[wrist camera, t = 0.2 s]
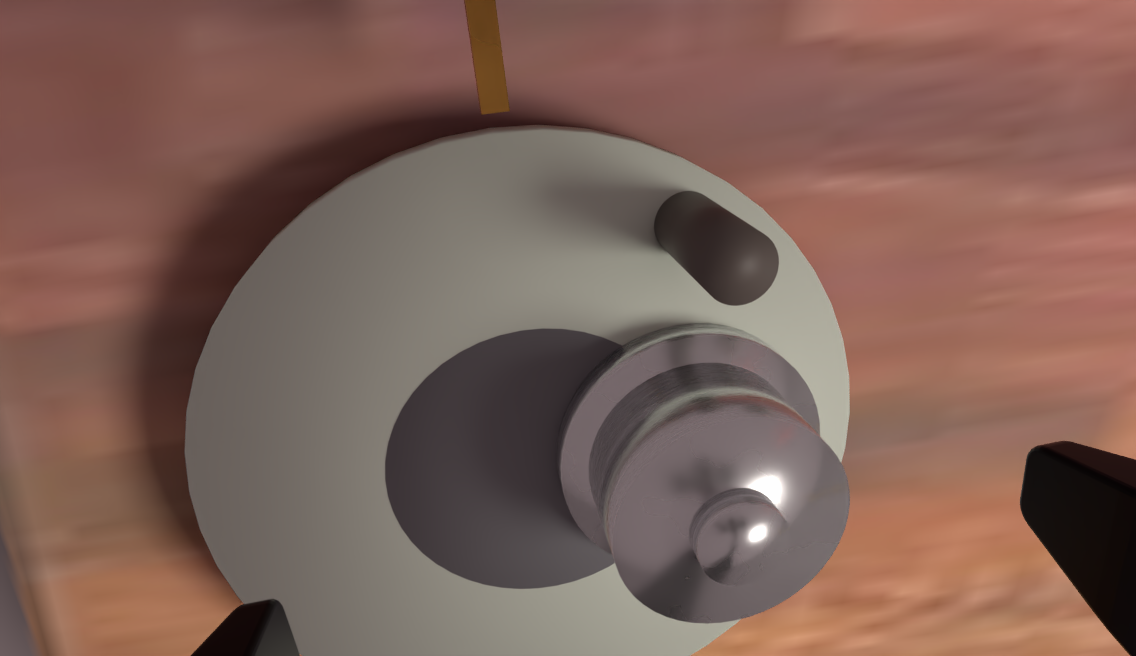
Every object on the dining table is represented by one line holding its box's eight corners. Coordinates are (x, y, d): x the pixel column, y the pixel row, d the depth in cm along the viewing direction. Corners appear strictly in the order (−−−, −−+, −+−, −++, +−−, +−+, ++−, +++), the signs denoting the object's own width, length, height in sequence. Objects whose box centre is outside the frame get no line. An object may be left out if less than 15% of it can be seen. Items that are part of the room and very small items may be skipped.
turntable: (821, 620, 29) (898, 739, 24) (294, 733, 26) (263, 888, 22) (845, 81, 21) (966, 98, 16) (93, 179, 18) (-27, 233, 14)
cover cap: (802, 522, 25) (884, 633, 20) (570, 568, 24) (602, 696, 19) (808, 303, 22) (907, 377, 17) (541, 347, 21) (571, 438, 16)
